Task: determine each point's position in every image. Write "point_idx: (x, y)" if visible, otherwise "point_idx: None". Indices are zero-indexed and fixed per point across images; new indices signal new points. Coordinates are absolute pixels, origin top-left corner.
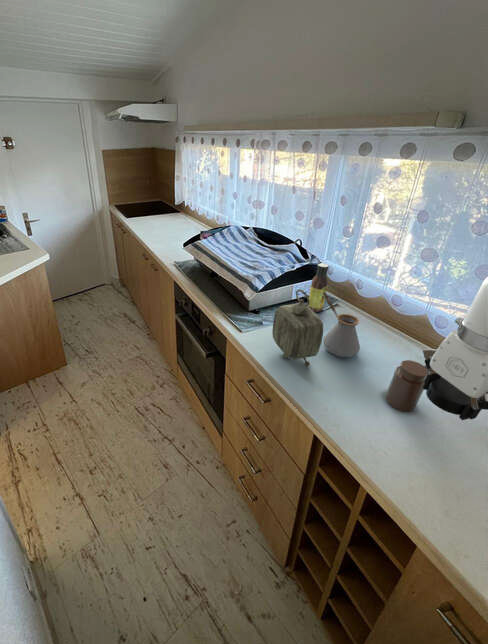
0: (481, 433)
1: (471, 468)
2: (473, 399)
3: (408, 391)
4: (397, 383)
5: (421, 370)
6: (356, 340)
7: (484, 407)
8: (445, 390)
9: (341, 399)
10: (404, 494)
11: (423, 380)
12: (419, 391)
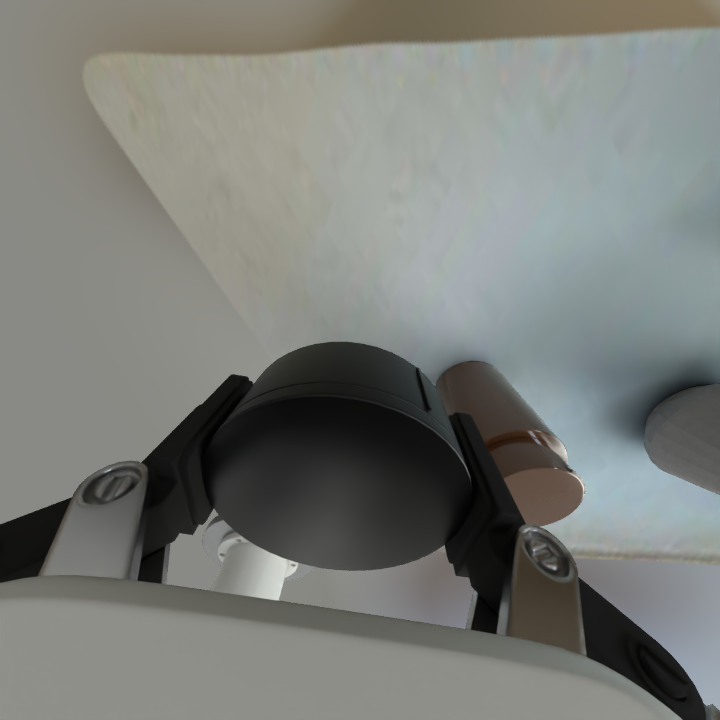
0: None
1: None
2: (89, 547)
3: (479, 410)
4: (521, 410)
5: None
6: (712, 474)
7: (29, 526)
8: (357, 473)
9: (593, 245)
10: (288, 117)
11: None
12: None
